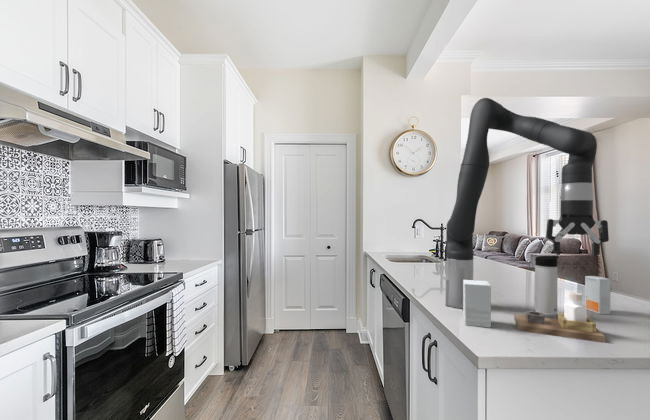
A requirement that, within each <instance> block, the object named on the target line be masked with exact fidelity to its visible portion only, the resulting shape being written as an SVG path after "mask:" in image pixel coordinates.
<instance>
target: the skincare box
mask: <svg viewBox="0 0 650 420" xmlns="http://www.w3.org/2000/svg"><path fill="white" fill-rule="evenodd" d="M611 281H612V280H611V279H610V278H606V277H601V276H596V275H585V276H584V283H585V284H584V306H585V307H586V308H587V311H591V312H593V313H595V314H598V315H610V314H611V286H612V285H611Z"/></svg>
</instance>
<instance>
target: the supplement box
mask: <svg viewBox="0 0 650 420" xmlns="http://www.w3.org/2000/svg"><path fill="white" fill-rule="evenodd" d="M462 310H463V311H462V318H463V322H464V325H465V326H472V327H484V328H491V327H492V286H491V284H490V283H489V281H488V280H474V279H473V280H463V308H462Z"/></svg>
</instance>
